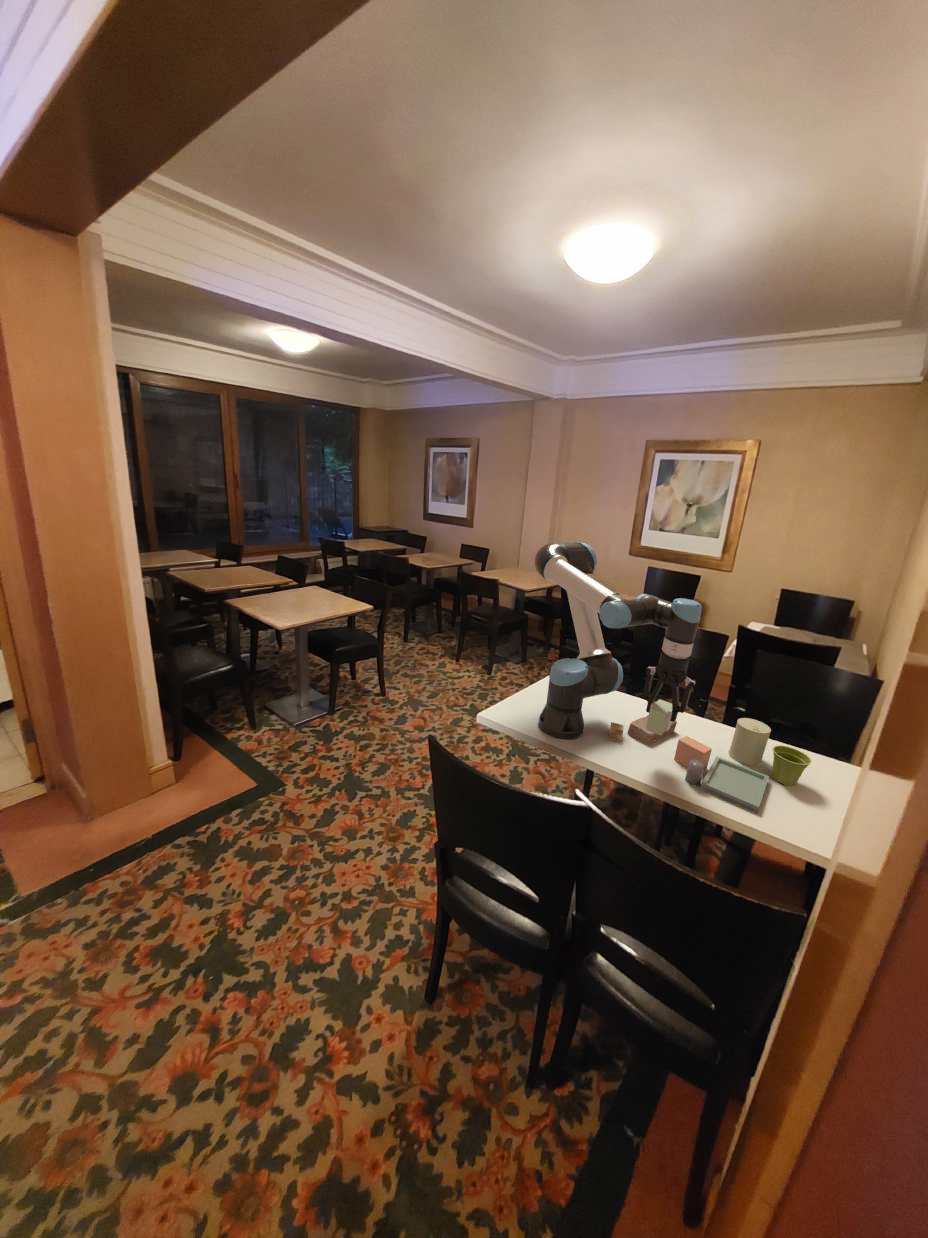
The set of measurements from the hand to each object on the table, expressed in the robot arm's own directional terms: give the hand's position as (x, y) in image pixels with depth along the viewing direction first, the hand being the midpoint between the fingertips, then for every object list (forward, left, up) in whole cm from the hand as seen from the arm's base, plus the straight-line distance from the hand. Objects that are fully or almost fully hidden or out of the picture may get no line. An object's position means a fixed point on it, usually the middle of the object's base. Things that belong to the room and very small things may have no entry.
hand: (658, 725), depth 137 cm
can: (+21, +25, -13) cm, 35 cm away
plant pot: (+32, +20, -13) cm, 40 cm away
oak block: (-14, +6, -12) cm, 19 cm away
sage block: (0, 0, 0) cm, 1 cm away
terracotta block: (+9, +8, -12) cm, 17 cm away
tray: (+22, +6, -12) cm, 26 cm away
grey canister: (+12, -1, -12) cm, 18 cm away
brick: (-6, +18, -13) cm, 23 cm away
